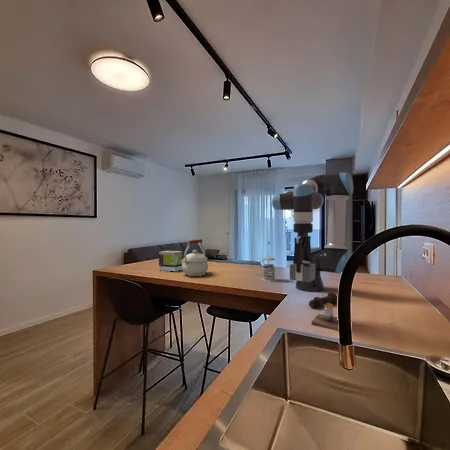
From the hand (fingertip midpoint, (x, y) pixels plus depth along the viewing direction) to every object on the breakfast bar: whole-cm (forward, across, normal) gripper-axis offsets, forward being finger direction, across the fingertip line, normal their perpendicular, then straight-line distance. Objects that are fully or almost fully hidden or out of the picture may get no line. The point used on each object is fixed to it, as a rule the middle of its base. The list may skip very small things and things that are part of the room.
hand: (302, 278), depth 108 cm
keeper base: (+15, +3, +11) cm, 19 cm away
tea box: (+15, -37, -114) cm, 121 cm away
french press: (+15, -50, -39) cm, 65 cm away
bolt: (+16, -16, +4) cm, 23 cm away
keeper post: (+14, +3, +11) cm, 18 cm away
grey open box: (0, 0, 0) cm, 0 cm away
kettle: (+15, -37, -88) cm, 97 cm away
